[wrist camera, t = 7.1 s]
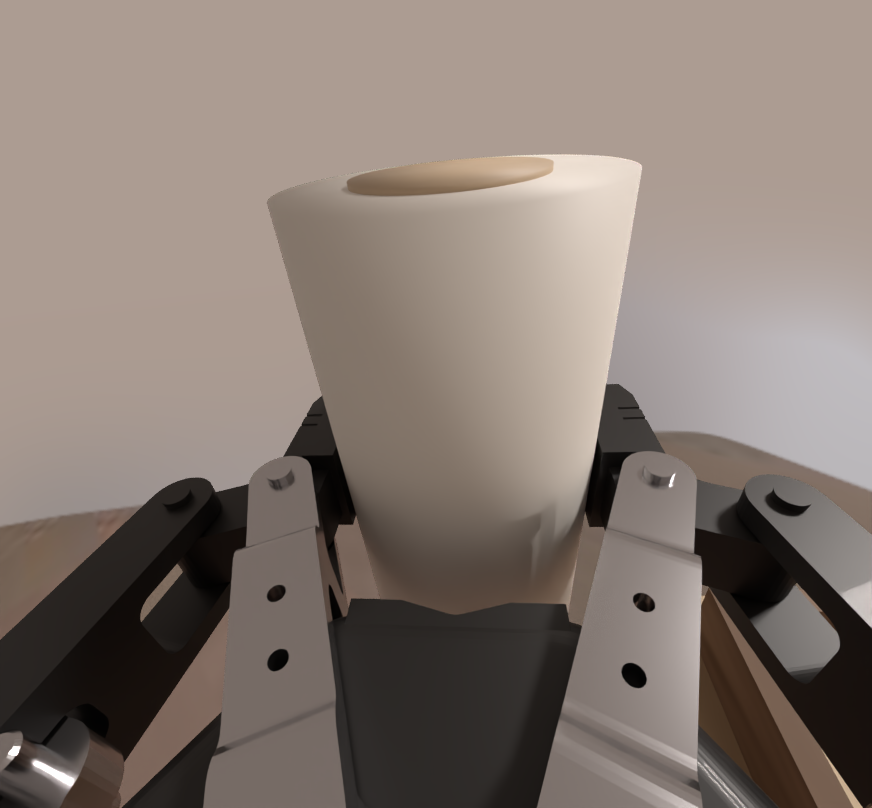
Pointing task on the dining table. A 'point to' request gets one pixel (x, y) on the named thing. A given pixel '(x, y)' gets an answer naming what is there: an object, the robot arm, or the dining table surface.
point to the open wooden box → (760, 719)
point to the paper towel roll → (464, 360)
